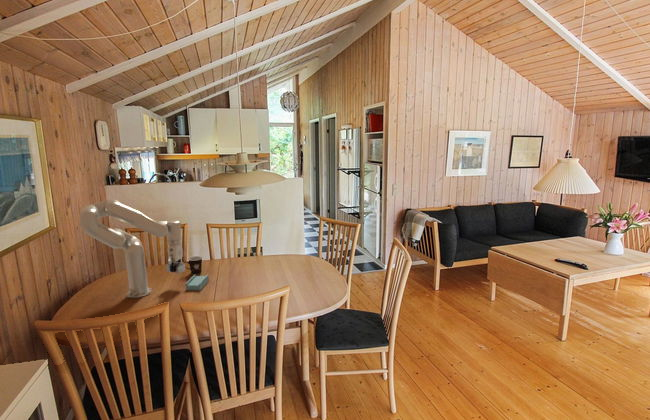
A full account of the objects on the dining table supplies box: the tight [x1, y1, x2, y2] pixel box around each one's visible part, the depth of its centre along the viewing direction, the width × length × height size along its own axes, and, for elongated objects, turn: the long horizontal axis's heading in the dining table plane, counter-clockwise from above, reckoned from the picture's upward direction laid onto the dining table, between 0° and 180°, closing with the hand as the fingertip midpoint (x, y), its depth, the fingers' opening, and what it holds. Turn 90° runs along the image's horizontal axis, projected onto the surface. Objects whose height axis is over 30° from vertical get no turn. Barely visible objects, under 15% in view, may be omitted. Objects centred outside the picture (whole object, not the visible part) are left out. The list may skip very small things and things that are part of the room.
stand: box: [184, 274, 210, 291], centre depth 221 cm, size 14×9×4 cm, turn 178°
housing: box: [165, 261, 186, 274], centre depth 218 cm, size 6×9×6 cm, turn 72°
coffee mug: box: [183, 255, 203, 275], centre depth 240 cm, size 12×9×10 cm
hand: (175, 269), depth 219 cm, fingers closed on housing, 7 cm apart
